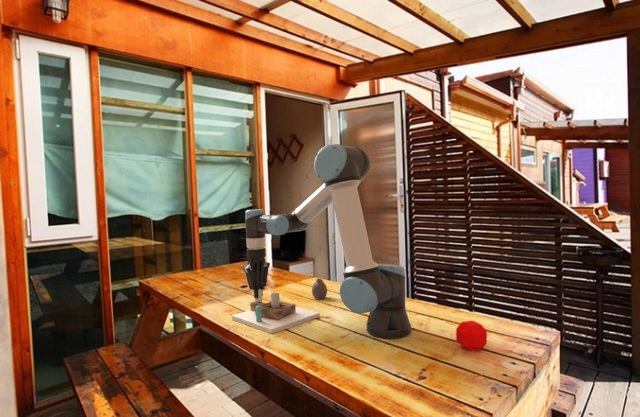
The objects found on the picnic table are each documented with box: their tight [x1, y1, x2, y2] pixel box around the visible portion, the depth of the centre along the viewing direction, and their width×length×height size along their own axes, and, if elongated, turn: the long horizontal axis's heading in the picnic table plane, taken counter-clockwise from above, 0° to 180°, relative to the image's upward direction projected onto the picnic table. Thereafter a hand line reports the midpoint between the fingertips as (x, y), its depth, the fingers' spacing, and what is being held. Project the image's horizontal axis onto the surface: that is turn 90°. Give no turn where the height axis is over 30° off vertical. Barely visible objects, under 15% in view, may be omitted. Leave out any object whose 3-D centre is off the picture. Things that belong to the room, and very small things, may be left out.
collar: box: [249, 300, 297, 320], centre depth 154 cm, size 18×11×3 cm, turn 57°
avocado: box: [311, 278, 328, 300], centre depth 179 cm, size 7×7×9 cm
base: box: [231, 292, 321, 334], centre depth 152 cm, size 24×24×10 cm
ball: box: [455, 320, 488, 352], centre depth 120 cm, size 8×8×8 cm
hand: (258, 305), depth 160 cm, fingers closed
